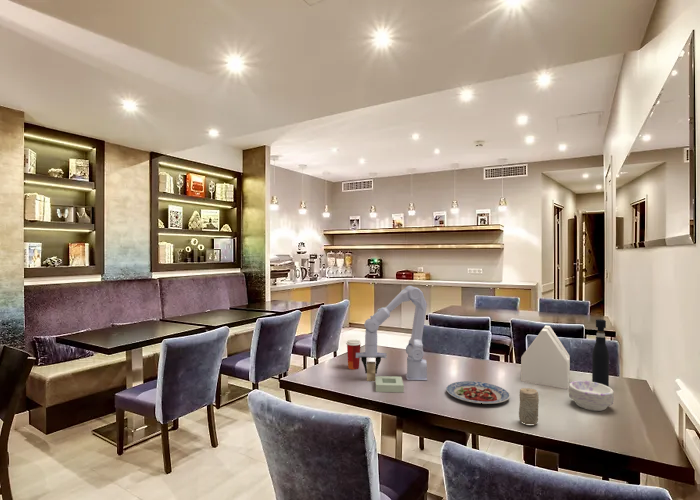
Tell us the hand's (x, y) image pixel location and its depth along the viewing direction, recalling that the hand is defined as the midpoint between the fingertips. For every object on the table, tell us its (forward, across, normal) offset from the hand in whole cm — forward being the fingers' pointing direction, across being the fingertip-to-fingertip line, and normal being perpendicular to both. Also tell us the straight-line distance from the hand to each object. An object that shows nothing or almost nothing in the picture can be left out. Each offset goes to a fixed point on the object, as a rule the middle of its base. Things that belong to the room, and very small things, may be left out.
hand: (371, 372), depth 189 cm
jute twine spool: (+3, -56, +44) cm, 71 cm away
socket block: (+3, -8, +10) cm, 13 cm away
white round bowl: (+3, -87, +27) cm, 91 cm away
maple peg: (+3, 0, 0) cm, 3 cm away
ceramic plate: (+4, -45, +18) cm, 49 cm away
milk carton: (+4, -83, -4) cm, 83 cm away
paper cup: (+3, +9, -18) cm, 20 cm away
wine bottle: (+3, -105, +2) cm, 105 cm away
